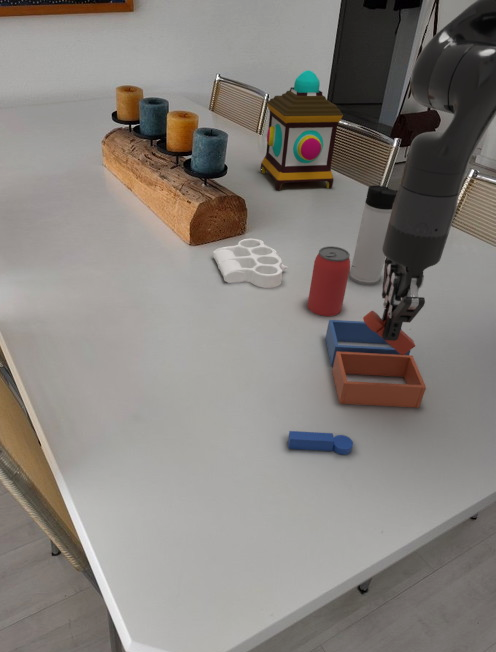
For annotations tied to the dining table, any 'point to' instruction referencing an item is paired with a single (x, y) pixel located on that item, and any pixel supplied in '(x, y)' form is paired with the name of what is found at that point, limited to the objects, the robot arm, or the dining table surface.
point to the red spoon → (377, 325)
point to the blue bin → (353, 339)
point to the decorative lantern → (301, 134)
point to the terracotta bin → (378, 392)
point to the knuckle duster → (250, 263)
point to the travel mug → (372, 236)
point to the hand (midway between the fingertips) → (388, 335)
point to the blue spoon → (319, 442)
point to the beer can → (329, 281)
